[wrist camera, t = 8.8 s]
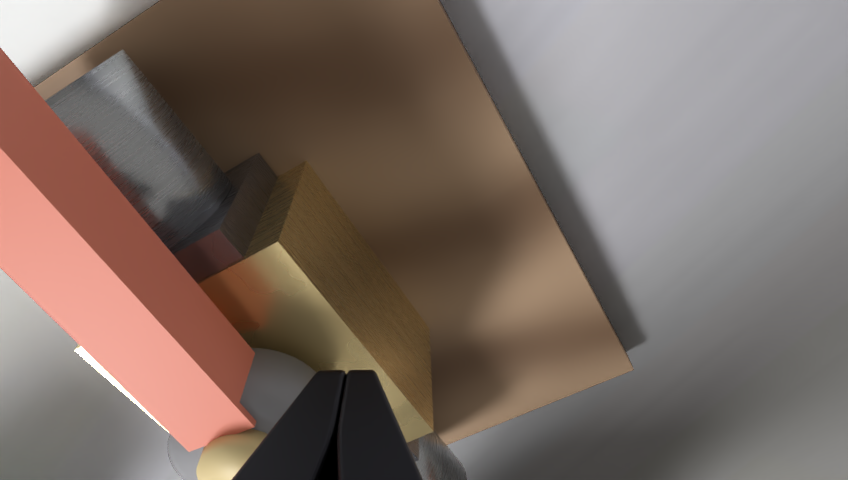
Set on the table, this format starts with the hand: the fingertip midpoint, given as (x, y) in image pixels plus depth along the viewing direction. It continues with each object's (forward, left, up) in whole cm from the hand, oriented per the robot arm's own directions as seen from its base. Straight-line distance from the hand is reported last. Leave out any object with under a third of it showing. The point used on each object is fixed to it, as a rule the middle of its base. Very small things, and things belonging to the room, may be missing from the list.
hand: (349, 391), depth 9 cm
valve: (-4, +6, -13) cm, 15 cm away
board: (-4, +5, -13) cm, 14 cm away
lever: (0, +6, -6) cm, 9 cm away
